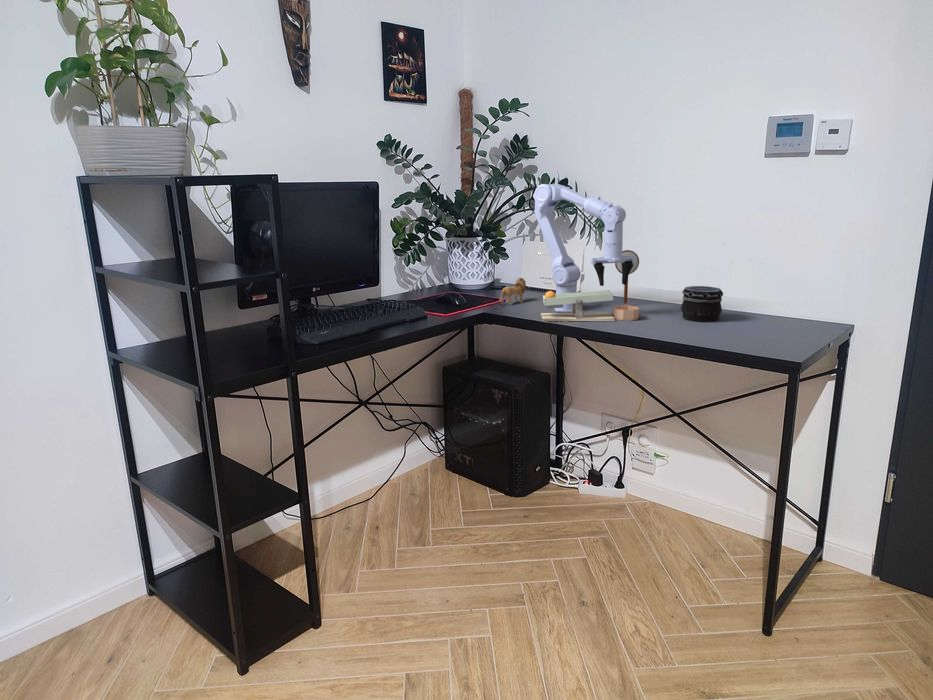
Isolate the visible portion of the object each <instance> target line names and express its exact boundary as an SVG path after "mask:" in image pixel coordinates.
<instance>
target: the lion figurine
mask: <svg viewBox="0 0 933 700" xmlns="http://www.w3.org/2000/svg"><path fill="white" fill-rule="evenodd" d="M526 283H527V281H526V280H525V279H524V278H523V277H518V278H516V279H515V283H514V285H513V286H505V287H503V288H502V289H501V290H502V291H501V296H500V298H499V300H498V302H499V301H500V302H501V305H500V306H503V303H504V302H503V300H504V298H505V297H507V298H506V299H507V301H506V302H507V303H508V305H509V304H513V303H511V299H512V297H513V302H514V301H517V302H518V300H517V296H519V303H520V302H523V303H524V301H523V297H524V293H525V292H526V285H527V284H526Z"/></svg>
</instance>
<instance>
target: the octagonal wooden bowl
mask: <svg viewBox="0 0 933 700" xmlns="http://www.w3.org/2000/svg"><path fill="white" fill-rule="evenodd" d="M612 316H613V317H614V318H615V321H616V320H617V321H621V320H623V321H625V322H626V321H627V322H628V321H629V322H631V321H637V320H639V318H640V307H638V306H636V305H629V304H628V305H627V304H626V305H615V306H612Z"/></svg>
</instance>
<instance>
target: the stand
mask: <svg viewBox="0 0 933 700" xmlns="http://www.w3.org/2000/svg"><path fill="white" fill-rule="evenodd" d="M540 317H541V320H542V319H543V320H542V322H543V321H559V322H558V323H561V322H560V321H564V322H563V323H568V322H567V321H616V319H615V318H614V317H613V314H612V313H610V312H607V311H605V312H583V300H576V303H573V304H572V312H549V313H548V312H541V313H540ZM565 321H566V322H565Z"/></svg>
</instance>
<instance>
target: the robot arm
mask: <svg viewBox="0 0 933 700" xmlns="http://www.w3.org/2000/svg"><path fill="white" fill-rule="evenodd" d="M532 197H533V199H534V215H535V218H536V221H537V223H538V226H539V228H540V231H541V234H542V236H543V239H544V241H545V243H546V246H547V248H548V252H549V254H550V257H551V260H552V263H551V266H550V268H551V272H552V280H553V282H554V283H555V294H566V293H578V292H577V291H578V289H577V288H578V285H577V284H578V280H580V277H581V272H582V271H581V269H580V267H579V266H578V265H577V264H576V263H575V260H574V259H573V258H572V257H570V255H568V252H567V249H566V246H565V244H564V242H563V239H562V236H561V234H560V231H559V230H558V226H557V223H556V221H555V218H554V216H553V212H554V210H555V208H556V206H557V205H558V204H559V203H560V202H561V200H564V201H567V202H570V203H573V204H575V205H577V206H580V207H582V208H584V211H585V214H588V215H590V216H593V217H595V218H597V219H599V220H602V222H603V224H604V256H601V257H591V258H590V264H591V265H593V268H594V270H595V272H596V274H597V275H596V276H597V278H598V282H599V286H601V287H604V286H605V285H604V284H605V281H604V280H605V278H604V275H605V265H604V264H615V263H621V264H622V273H621V285H626V282H627V278H628V279H629V275H630V274H629V273H630V271H631V269H632V267H633V263H632V262H636V256H622V251H623V237H624V236H623V235H624V234H623V233H624V229H623V228H624V227H623V225H624V221H625V220H626V217H627V214H626V213H627V212H626V210H625V208H624V207H622V206H621V205H619V204H618V205H613V204H614V203H613V202H611V201H610V202H607V201H605V200H603V199H601V198H602V197H601V196H599V195H595V196H590V197H587V196H585V195H583V194H581V193H579V192H577V191H575V190H573V189H571V188H569V187H567V186H566V185H563V184H559V183H556V182H555V183H552V184H551V183H549V184H548V183H547V184H546V183H541V184H539V185H538V186H537V187H536V188H535V191H534V193H533V195H532ZM618 260H619V261H618ZM553 309H554V311H555V312H554V313H572V304H563V308H553Z"/></svg>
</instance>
